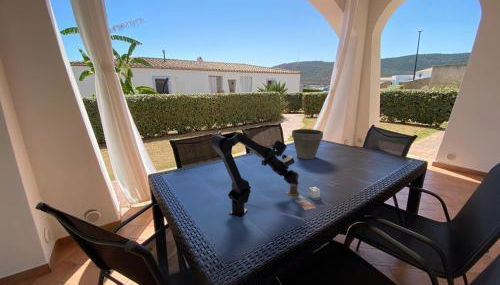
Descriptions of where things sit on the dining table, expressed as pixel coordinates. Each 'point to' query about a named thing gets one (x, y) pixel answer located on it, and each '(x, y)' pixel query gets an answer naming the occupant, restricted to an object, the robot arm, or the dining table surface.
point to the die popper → (314, 193)
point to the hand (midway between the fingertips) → (293, 180)
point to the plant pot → (306, 142)
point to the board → (301, 199)
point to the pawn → (294, 188)
